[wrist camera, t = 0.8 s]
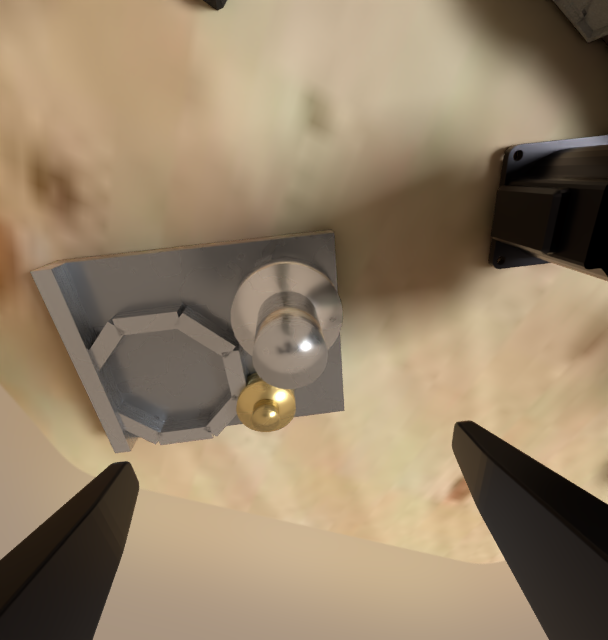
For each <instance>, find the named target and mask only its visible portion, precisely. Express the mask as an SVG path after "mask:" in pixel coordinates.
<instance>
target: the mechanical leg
mask: <svg viewBox="0 0 608 640" xmlns="http://www.w3.org/2000/svg"><path fill="white" fill-rule="evenodd" d="M204 1H205V2H206V3H208V4H209V5H210V6H212V7H213V8H215V9H217V10H219V9H221V8H223V7H224V5H225V3H226V1H227V0H204Z"/></svg>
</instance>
